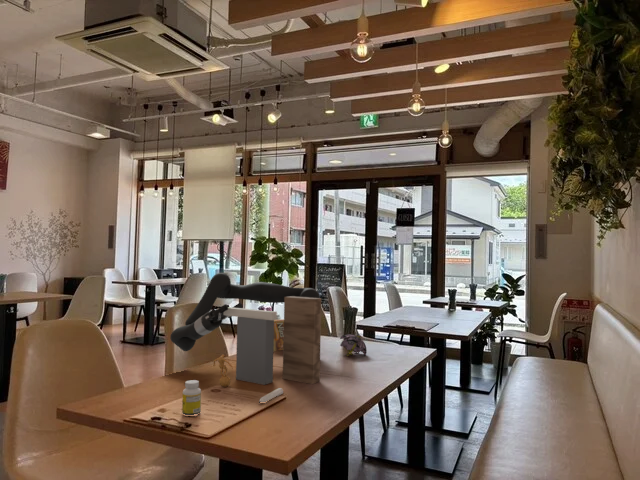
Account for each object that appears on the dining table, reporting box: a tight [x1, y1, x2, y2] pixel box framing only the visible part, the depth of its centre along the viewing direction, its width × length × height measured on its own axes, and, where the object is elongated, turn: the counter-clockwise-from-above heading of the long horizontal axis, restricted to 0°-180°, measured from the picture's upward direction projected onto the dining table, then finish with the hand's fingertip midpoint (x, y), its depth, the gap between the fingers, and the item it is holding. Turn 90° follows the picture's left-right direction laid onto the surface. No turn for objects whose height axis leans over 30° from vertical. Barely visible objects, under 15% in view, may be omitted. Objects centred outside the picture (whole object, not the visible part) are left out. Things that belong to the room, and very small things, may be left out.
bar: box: [224, 306, 278, 320], centre depth 190 cm, size 3×24×3 cm, turn 59°
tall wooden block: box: [282, 296, 322, 385], centre depth 190 cm, size 5×14×32 cm, turn 59°
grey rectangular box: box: [235, 317, 274, 386], centre depth 188 cm, size 5×14×24 cm, turn 59°
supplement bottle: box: [181, 379, 202, 415], centre depth 146 cm, size 5×5×10 cm
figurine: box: [213, 354, 234, 388], centre depth 177 cm, size 8×6×12 cm
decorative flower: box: [339, 333, 367, 357], centre depth 239 cm, size 15×12×15 cm
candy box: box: [273, 318, 284, 352], centre depth 250 cm, size 9×4×15 cm, turn 129°
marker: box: [258, 387, 284, 403], centre depth 163 cm, size 3×2×16 cm
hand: (234, 305), depth 194 cm, fingers open, 8 cm apart
